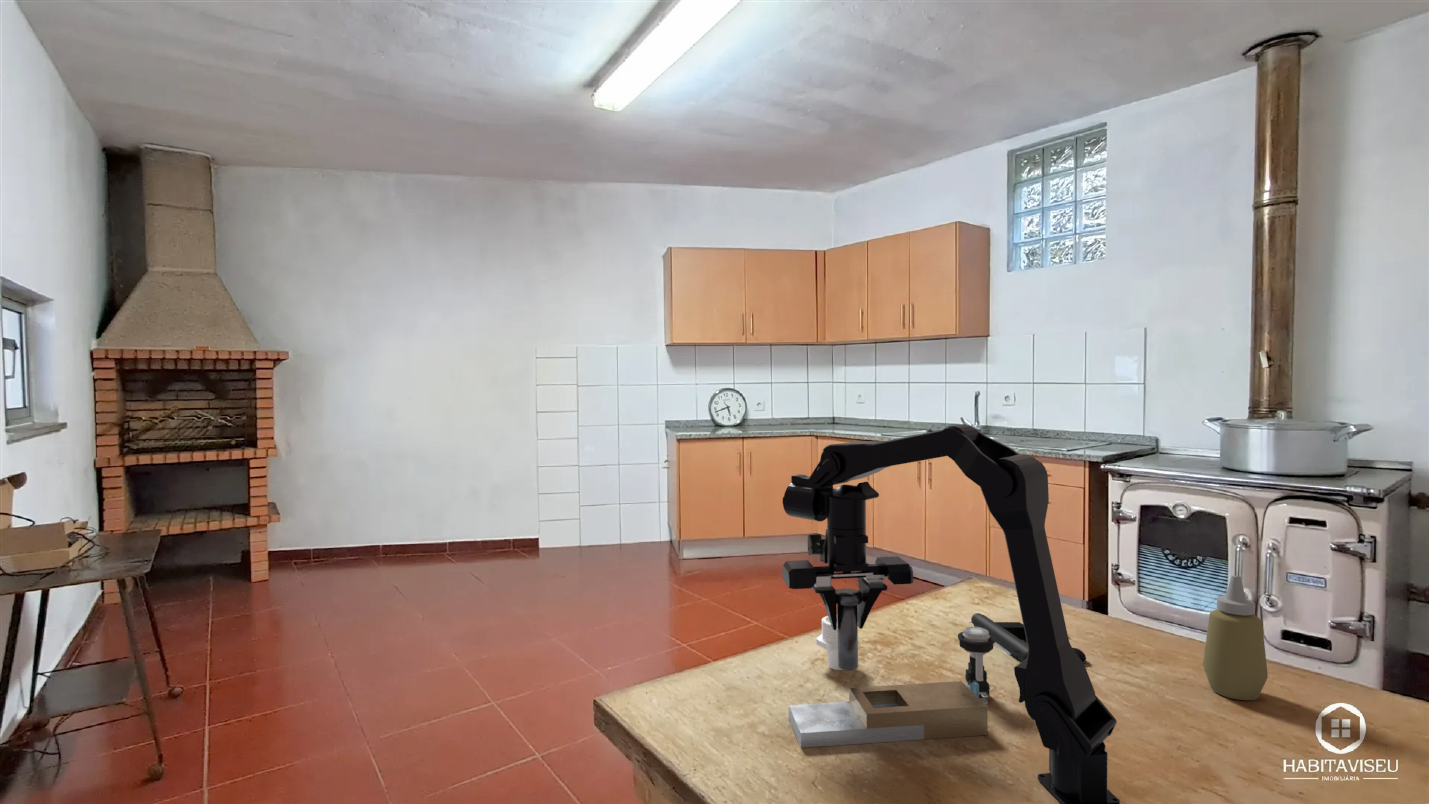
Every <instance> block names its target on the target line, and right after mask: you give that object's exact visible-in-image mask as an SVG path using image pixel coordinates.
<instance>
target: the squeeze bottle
mask: <svg viewBox="0 0 1429 804" xmlns="http://www.w3.org/2000/svg"><path fill="white" fill-rule="evenodd" d="M1255 605H1256V604H1255V602H1254V601H1252V600H1251V599H1248V598H1246V594H1245V589H1244V585H1243V581H1242V577H1241V576H1239V575H1235V574H1234V575H1231V576H1230V579H1229V583H1228V586H1227V590H1226V594H1225V595H1220V596H1217V598H1216V609H1213V610H1212V611H1210V612H1209V616H1208V622H1207V623H1208V624H1207V630H1206V631H1207V632H1206V638H1205V645H1204V653H1203V660H1202V666H1203V669H1204V673H1205V675H1206V677H1207V680H1208V683H1209V685H1210V688H1211V690H1213V692H1215V693H1216V694H1218V695H1220V696H1224V697H1226V698H1229V699H1234V700H1238V701H1255V700H1257V699H1258V698H1259V697H1260V695H1261V692H1262V690H1263V689H1264V687H1265V684H1266V682H1267V680H1268V677H1269V676H1268V675H1269V673H1268V665H1267V664H1268V663H1267V655H1266V645H1265V638H1264V637H1265V636H1264V629H1263V627H1264V625H1263V620H1262V619H1261V618H1260V617H1258V616H1257V615H1256V614H1255Z"/></svg>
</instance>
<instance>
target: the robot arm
mask: <svg viewBox="0 0 1429 804" xmlns="http://www.w3.org/2000/svg"><path fill="white" fill-rule="evenodd" d="M943 457H948V458H949V459H951V460H952V461H953V462H954V463H955V464H956V467H957V466H958V468H959V469H960V470H961V472H962V473H963V475H964V476H966V478H968V479H969V480H971V481H972V482H974V484H976V485H977V486H979V487H980V490H981V493H982V496H983V498H984V501H985V503H986V506H987V509H988V511H989V513H990V514H991V515H992V517H993V519H994V520H995V521H996V523H997V524H998V527H1000V528H1001V529H1002V532H1003V535H1004V537H1005V538H1004V539H1005V543H1006V548H1007V552H1008V558H1009V561H1010V562H1009V563H1010V567H1011V572H1012V577H1013V581H1014V582H1013V583H1014V587H1015V591H1016V596H1017V602H1018V606H1019V610H1020V614H1021V620H1022V624H1023V625H1024V630H1025V635H1026V640H1025V641H1026V644H1027V645H1028V656H1027V659H1026V660H1024V661H1023V662H1022V661H1021V662H1020V663H1018V664H1017V665H1015V666H1014V667H1013V672H1014V677H1015V679H1016V682H1017V684H1018V688H1019V697H1018V703H1020V704H1022V703H1023V702H1024V706H1025V710H1026V712H1027V714H1028V716H1029V718H1030V719H1031V720H1033V721H1034V723H1035V726H1036V729H1037V732H1038V734H1039V737H1040V740H1041V743H1042V746H1043V747H1044V748H1046V749H1048V752H1049V753H1048V755H1049V756H1048V761H1049V763H1048V770H1049V772H1048V773H1047V772H1046V773H1038V774H1037V780H1038V781H1039V782H1040V783H1041V784H1042V785H1043V786H1044V787H1045V788H1046V789H1047V790H1048V791H1049V792H1050V794H1051V795H1053V796H1054V797H1055V798H1056V800H1058V802H1060V804H1121V800H1120V799H1119V798H1118V797H1117V796H1116V795H1115V794H1114V793H1112V792H1111V791H1110V790H1109V789H1108V752H1107V751H1106V743H1105V742H1104V741H1105V740H1106V739H1107V738H1108V737H1110V736H1111V735H1112V734H1113V731H1114V729H1115V727H1116V726H1117V723H1118V721H1117V719H1116V718H1115V716H1114V715H1113V714H1112V713H1111V711H1109V709H1108V707H1106V706H1105V704H1104V703H1103V702H1102V701H1101V700H1100V699H1099V697H1098V696H1097V695H1096V692H1095V689H1094V686H1093V682H1092V681H1091V678H1090V675H1089V672H1088V671H1087V668H1086V665H1085V662H1084V663H1083V662H1082V661H1081V659H1080V658H1079V656H1078V655H1077V654H1076V652H1075V651H1074V649H1073V648H1074V647H1073V646H1072V645H1071V643H1070V640H1069V635H1068V631H1067V626H1066V622H1065V621H1066V620H1065V616H1064V612H1063V608H1062V603H1061V598H1060V594H1059V588H1058V583H1057V579H1056V575H1055V569H1054V565H1053V561H1052V560H1053V559H1052V555H1051V551H1050V546H1049V542H1048V536H1047V533H1046V526H1045V525H1046V520H1047V518H1046V517H1047V513H1048V508H1049V498H1050V497H1049V496H1050V494H1049V475H1048V472H1047V469H1046V466H1045V465H1044V463H1043V462H1041V461H1039V460H1038V459H1036V458H1035V457H1034V456H1031V455H1029V454H1020V453H1019V452H1017V451H1016V450H1015V449H1013V448H1011V447H1010V446H1008V445H1005V444H1003V443H1002V442H999V441H998V440H995V439H993V438H991V437H990V436H987V435H986V434H984V433H983V432H981V431H980V430H978V429H977V428H976V427H973V426H972V425H969V424H965V423H964V424H963V423H962V424H953V425H948V426H945V427H944V428H941V429H938V430H933V431H928V432H924V433H918V434H914V435H908V436H904V437H900V438H895V439H890V440H885V441H871V440H870V441H869V440H867V441H865V440H864V441H862V440H861V441H858V440H857V441H848V442H847V441H846V442H840V443H832V444H829V445H826V446H825V447H824V448H823V449H822V453H821V454H820V460H819V461H818V463H817V464H816V467H815V468H814V470H813V471H812V473H811V474H810V475H809V476H808V475H806V474H800V473H799V474H794V475H791V480H790V481H791V482H790V484H789V485H787V487H786V489H785V491H784V495H783V497H782V506H783V510H784V513H786V515H788V516H789V517H792V518H798V519H802V520H803V519H804V520H808V521H809V520H810V521H815V522H824V521H825V520H826V523H827V524H826V529H825V536H824V538H822V535H821V534H820V533H819V534H818V533H817V534H814V533H813V534H808V535H807V552H808V553H807V554H808V556H819V562H821V563H823V564H827V565H825V566H823V565H822V566H821V565H820V566H819V565H818V566H814V565H813V564H812V563H811V562H810V561H809V559H808V560H807V559H804V560H803V559H802V560H786V561H784V564H783V565H782V572H781V573H782V577H781V578H782V580H783V581H784V583H785V584H786V586H787V587H788V588H789V589H791V590H805V589H808V590H809V589H812V590H813V592H814V593H816V594H819V596H820V598H821V600H822V601H823V605H824V608H825V612H826V613H827V616H828V617H829V620H830V623H831V626H832V628H833V630H836V628H837V604H836V588H835V587H834V586H833V585H832V580H835V579H837V580H840V579H857V584H858V591H860V592H861V593H862V603H860V604H858V605H857V617H858V628H859V630H862V629H863V628H864V627H865V624H866V622H867V620H868V617H869V615H870V613H871V610H872V608H873V607H874V605H875V603H876V601H878V598H879V597H880V595H881V594H882V592H883V591H884V592H885V591H887V590H888V588H889V585H887V584H885V580H886V579H885V578H886V577H887V579H888V580H889V582H891V583H892V584H893V585H895V586H896V585H911V584H913V583H914V571H913V567H912V566H911V565H910V563H908V562H907V561H906V560H905V559H902V558H901V557H900V556H897V555H896V556H877V557H876V559H875V561H874V563H870V564H869V563H867V544H869V536H868V535H867V514H866V513H867V510H866V509H867V506H866V505H867V501H868V500H872V499H877V498H879V497H880V494H879V492H878V491H877V490H876V489H875V488H874V487H872V485H870V482H869V481H864V482H863V481H862V482H859V483H857V485H852V484H846V483H849V482H851V481H856V480H860V479H864V478H867V477H869V476H871V475H875V474H877V473H879V472H881V471H883V470H885V469H886V468H890V467H893V466H899V465H903V464H904V465H905V464H910V463H915V462H920V461H921V462H922V461H926V460H927V461H928V460H933V459H938V458H943ZM835 485H839V486H838V487H837V488H834V486H835Z"/></svg>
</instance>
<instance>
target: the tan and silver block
mask: <svg viewBox="0 0 1429 804" xmlns="http://www.w3.org/2000/svg"><path fill="white" fill-rule="evenodd" d="M848 690H849V691H848V692H849V693H848V696H849V697H848V698H849V701H837V702H836V701H835V702H821V703H820V702H819V703H803V704H790V705H789V704H788V721H789V722H790V726H791V728H792V730H793V733H794V735H795V737H796V739H797V742H798V744H799V746H800V748H801V749H803V748H819V747H820V748H821V747H833V746H846V745H847V746H848V745H861V744H862V745H863V744H876V743H889V742H902V741H903V742H905V741H916V740H917V741H918V740H919V741H921V740H932V739H933V740H934V739H944V738H946V739H948V738H960V737H975V736H977V737H978V736H988V735H989V734H988V731H989V730H988V725H989V724H988V719H989V718H988V717H989V716H988V715H989V714H988V710H989V709H988V705H987V704H985V703H984V702H985V701H984V702H983V701H982V700H981V699H980V698H979V697H977V696H976V695H975V694H974V693H973V692H972V691H971V690H970V689H969V688H968V687H967V686H966V684H965V683H964V682H963V681H962V680H957V681H956V680H955V681H941V682H925V683H924V682H923V683H909V684H908V683H905V684H893V685H875V686H873V685H872V686H860V687H858V686H857V687H849V688H848Z"/></svg>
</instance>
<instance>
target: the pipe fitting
mask: <svg viewBox="0 0 1429 804" xmlns="http://www.w3.org/2000/svg"><path fill="white" fill-rule="evenodd" d="M815 640H816V641H815V644H816V646H819V647H821V648H823V649H824V650H827V665H828V668H830V669H832V670H836V671H843V670H844V669H841V668H839V667H838V631H837V628H836V630H833V628H832V626H831V623H830V620H829V617H828V615H826V616H823V617H822V618H821V634H820V635H818V636H817V637H816V639H815ZM859 641H860V640H859V637H858V645H859V643H860V642H859Z"/></svg>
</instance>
